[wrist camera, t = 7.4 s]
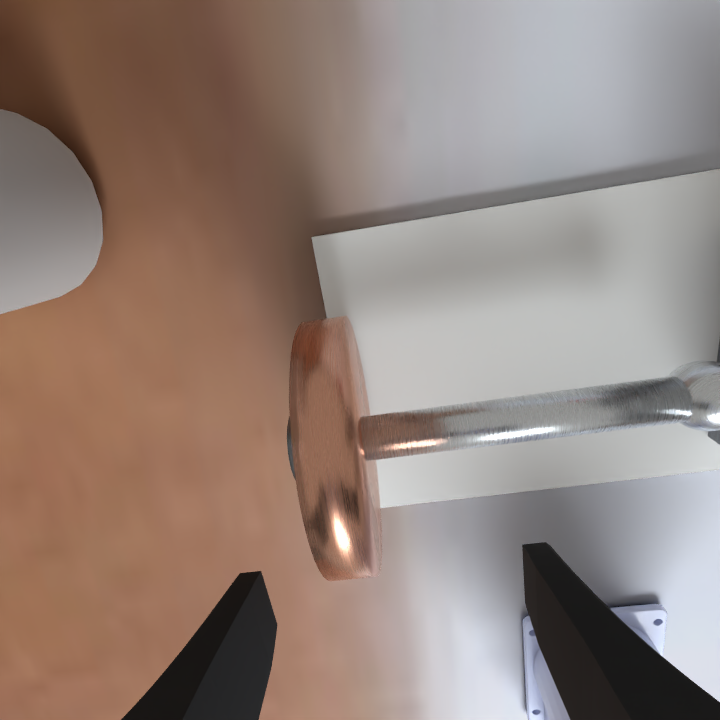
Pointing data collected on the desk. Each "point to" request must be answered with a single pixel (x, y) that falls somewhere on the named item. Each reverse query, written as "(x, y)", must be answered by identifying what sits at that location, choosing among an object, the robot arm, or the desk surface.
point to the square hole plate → (717, 435)
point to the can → (43, 216)
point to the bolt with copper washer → (437, 433)
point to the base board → (534, 325)
